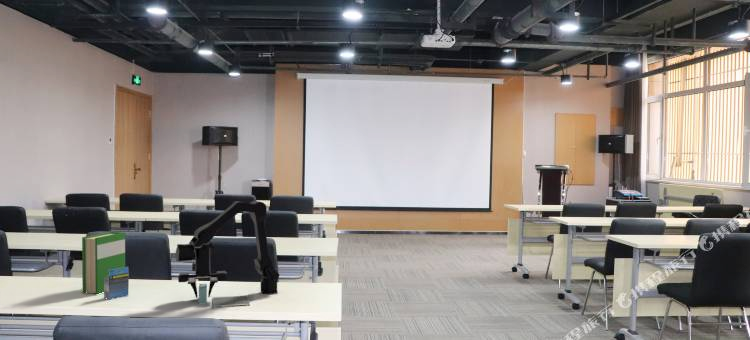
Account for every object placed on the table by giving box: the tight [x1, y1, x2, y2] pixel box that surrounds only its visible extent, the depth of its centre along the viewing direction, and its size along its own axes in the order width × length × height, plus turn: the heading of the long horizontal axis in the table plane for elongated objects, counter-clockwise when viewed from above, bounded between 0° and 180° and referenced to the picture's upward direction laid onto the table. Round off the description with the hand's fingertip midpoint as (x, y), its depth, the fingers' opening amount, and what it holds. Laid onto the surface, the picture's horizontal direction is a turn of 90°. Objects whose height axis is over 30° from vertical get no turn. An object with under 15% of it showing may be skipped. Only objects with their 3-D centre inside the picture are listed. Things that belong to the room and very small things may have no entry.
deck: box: [198, 283, 208, 304], centre depth 240 cm, size 3×9×6 cm, turn 15°
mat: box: [212, 294, 251, 308], centre depth 239 cm, size 14×15×1 cm
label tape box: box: [103, 266, 130, 300], centre depth 245 cm, size 9×4×12 cm, turn 145°
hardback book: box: [81, 231, 126, 295], centre depth 257 cm, size 18×7×24 cm, turn 165°
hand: (202, 297), depth 240 cm, fingers open, 4 cm apart
